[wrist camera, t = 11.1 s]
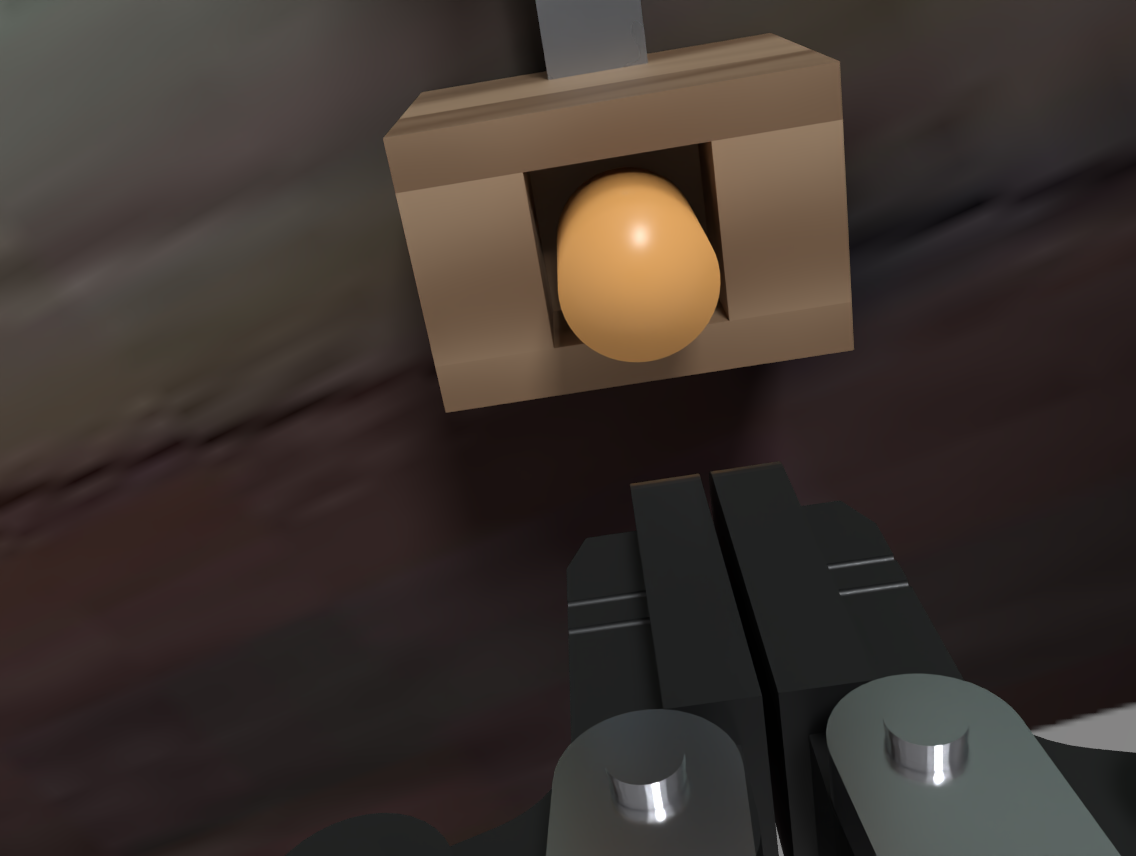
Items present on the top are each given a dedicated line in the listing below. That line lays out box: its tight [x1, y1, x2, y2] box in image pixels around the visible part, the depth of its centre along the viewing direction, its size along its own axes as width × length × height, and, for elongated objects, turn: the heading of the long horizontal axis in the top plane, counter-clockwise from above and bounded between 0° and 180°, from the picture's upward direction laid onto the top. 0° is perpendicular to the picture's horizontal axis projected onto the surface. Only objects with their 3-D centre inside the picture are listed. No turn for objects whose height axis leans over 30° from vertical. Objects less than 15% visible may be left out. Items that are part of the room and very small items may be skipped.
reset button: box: [557, 167, 720, 362], centre depth 21 cm, size 3×3×4 cm
